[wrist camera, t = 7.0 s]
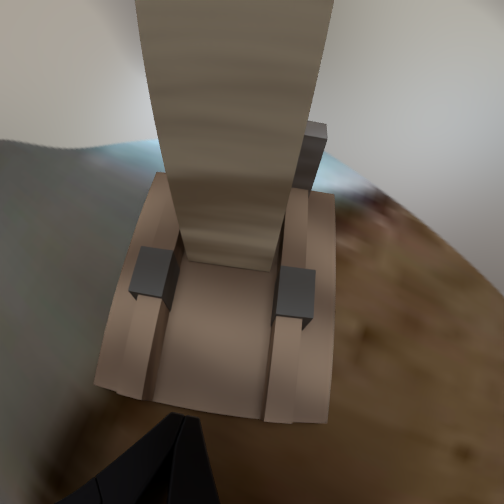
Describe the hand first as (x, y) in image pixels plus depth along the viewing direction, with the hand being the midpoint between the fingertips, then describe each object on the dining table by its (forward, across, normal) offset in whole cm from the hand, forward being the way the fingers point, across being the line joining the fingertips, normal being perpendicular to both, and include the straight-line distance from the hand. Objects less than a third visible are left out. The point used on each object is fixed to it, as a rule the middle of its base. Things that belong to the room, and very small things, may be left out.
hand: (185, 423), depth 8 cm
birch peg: (+11, 0, -3) cm, 12 cm away
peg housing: (+10, 0, 0) cm, 11 cm away
